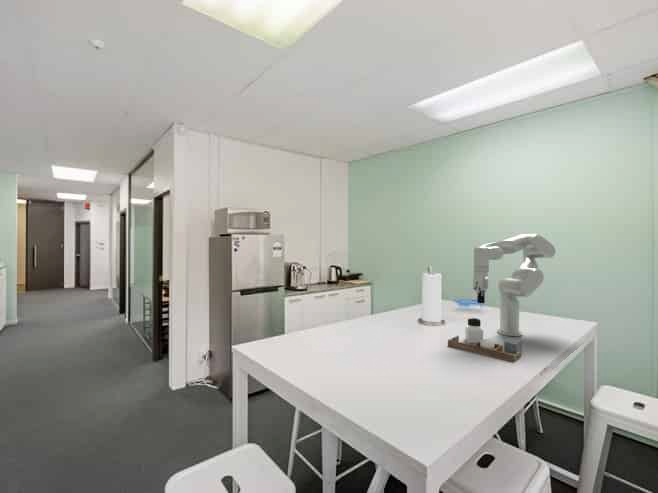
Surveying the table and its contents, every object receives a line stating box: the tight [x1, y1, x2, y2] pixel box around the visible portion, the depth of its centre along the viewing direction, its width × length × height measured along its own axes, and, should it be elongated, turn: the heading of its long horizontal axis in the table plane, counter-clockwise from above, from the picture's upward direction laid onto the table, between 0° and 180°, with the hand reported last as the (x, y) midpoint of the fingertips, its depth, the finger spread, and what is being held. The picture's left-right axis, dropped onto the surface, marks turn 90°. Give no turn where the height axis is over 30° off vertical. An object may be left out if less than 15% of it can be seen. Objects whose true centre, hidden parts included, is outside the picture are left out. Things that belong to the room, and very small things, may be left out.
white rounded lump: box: [480, 338, 496, 350], centre depth 150 cm, size 6×6×5 cm
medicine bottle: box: [464, 317, 484, 344], centre depth 165 cm, size 7×7×12 cm
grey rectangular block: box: [503, 337, 523, 355], centre depth 150 cm, size 9×5×5 cm, turn 135°
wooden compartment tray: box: [447, 335, 522, 363], centre depth 151 cm, size 11×30×3 cm, turn 45°
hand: (480, 302), depth 172 cm, fingers closed
